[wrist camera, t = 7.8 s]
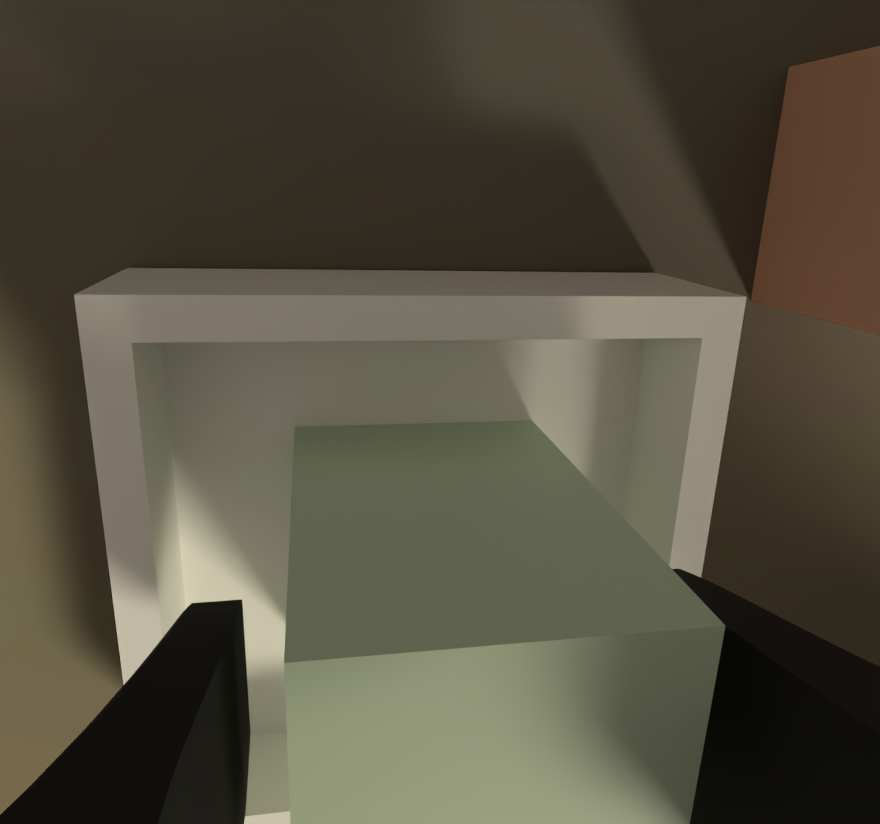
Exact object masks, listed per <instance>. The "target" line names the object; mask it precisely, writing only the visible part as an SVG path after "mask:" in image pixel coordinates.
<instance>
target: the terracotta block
mask: <svg viewBox="0 0 880 824" xmlns="http://www.w3.org/2000/svg"><path fill="white" fill-rule="evenodd" d="M751 301H755V302H759V303H762V304H766V305H770V306H773V307H777V308H781V309H785V310H788V311H792V312H796V313H799V314H803V315H807V316H810V317H814V318H818V319H821V320H825V321H829V322H832V323H836V324H840V325H843V326H847V327H851V328H854V329H858V330H862V331H865V332H869V333H873V334H876V335H880V46H876V47H872V48H868V49H863V50H859V51H855V52H851V53H846V54H842V55H838V56H834V57H829V58H825V59H821V60H816V61H812V62H808V63H804V64H799V65H795V66H791V67H789V70H788V76H787V82H786V88H785V94H784V100H783V106H782V112H781V118H780V125H779V131H778V137H777V143H776V149H775V155H774V161H773V167H772V173H771V180H770V186H769V192H768V198H767V204H766V210H765V216H764V222H763V228H762V235H761V241H760V247H759V253H758V259H757V265H756V271H755V277H754V283H753V290H752V296H751Z"/></svg>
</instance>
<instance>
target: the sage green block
mask: <svg viewBox="0 0 880 824" xmlns="http://www.w3.org/2000/svg"><path fill="white" fill-rule="evenodd" d="M724 631H725V625H724V624H723V623H722V622H721V620H720V619H719V618H718V617H717V616H716V615H715V614H714V613H713V612H712V611H711V610H710V609H709V608H708V607H707V606H706V605H705V604H704V602H703V601H702V600H701V599H700V598H699V597H698V596H697V595H696V594H695V593H694V592H693V591H692V590H691V589H690V588H689V587H688V585H687V584H686V583H685V582H684V581H683V580H682V579H681V578H680V577H679V576H678V575H677V574H676V573H675V572H674V571H673V570H672V568H671V567H670V566H669V565H668V564H667V563H666V562H665V561H664V560H663V559H662V558H661V557H660V556H659V555H658V554H657V553H656V551H655V550H654V549H653V548H652V547H651V546H650V545H649V544H648V543H647V542H646V541H645V540H644V539H643V538H642V537H641V536H640V534H639V533H638V532H637V531H636V530H635V529H634V528H633V527H632V526H631V525H630V524H629V523H628V522H627V521H626V520H625V519H624V517H623V516H622V515H621V514H620V513H619V512H618V511H617V510H616V509H615V508H614V507H613V506H612V505H611V504H610V503H609V502H608V501H607V499H606V498H605V497H604V496H603V495H602V494H601V493H600V492H599V491H598V490H597V489H596V488H595V487H594V486H593V485H592V484H591V482H590V481H589V480H588V479H587V478H586V477H585V476H584V475H583V474H582V473H581V472H580V471H579V470H578V469H577V468H576V467H575V465H574V464H573V463H572V462H571V461H570V460H569V459H568V458H567V457H566V456H565V455H564V454H563V453H562V452H561V451H560V450H559V448H558V447H557V446H556V445H555V444H554V443H553V442H552V441H551V440H550V439H549V438H548V437H547V436H546V435H545V434H544V433H543V431H542V430H541V429H540V428H539V427H538V426H537V425H536V424H535V423H534V422H533V421H494V422H455V423H417V424H379V425H341V426H302V427H294V449H293V472H292V494H291V517H290V539H289V562H288V584H287V607H286V629H285V652H284V675H285V700H286V725H287V750H288V775H289V800H290V824H690V819H691V813H692V808H693V802H694V797H695V791H696V786H697V780H698V775H699V769H700V764H701V758H702V753H703V747H704V742H705V736H706V731H707V725H708V720H709V714H710V709H711V703H712V698H713V692H714V687H715V681H716V676H717V670H718V665H719V659H720V653H721V648H722V642H723V637H724Z"/></svg>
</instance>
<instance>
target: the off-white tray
mask: <svg viewBox="0 0 880 824" xmlns="http://www.w3.org/2000/svg"><path fill="white" fill-rule="evenodd" d="M746 298H747V297H746V296H742V295H738V294H735V293H731V292H727V291H723V290H719V289H716V288H712V287H708V286H704V285H701V284H697V283H693V282H689V281H685V280H682V279H678V278H674V277H670V276H667V275H663V274H659V273H619V272H514V271H409V270H304V269H198V268H127V269H125V270H123V271H120V272H118V273H116V274H114V275H112V276H110V277H108V278H106V279H104V280H102V281H100V282H98V283H96V284H94V285H92V286H90V287H88V288H86V289H84V290H82V291H80V292H78V293H76V294H74V299H75V307H76V315H77V323H78V331H79V339H80V347H81V354H82V362H83V370H84V378H85V386H86V394H87V402H88V409H89V417H90V425H91V433H92V441H93V449H94V457H95V464H96V472H97V480H98V488H99V496H100V504H101V512H102V519H103V527H104V535H105V543H106V551H107V559H108V567H109V574H110V582H111V590H112V598H113V606H114V614H115V622H116V629H117V637H118V645H119V653H120V661H121V669H122V677H123V684H125V683H126V682H127V681H128V680H129V678H130V677H131V676H132V675H133V674H134V673H135V671H136V670H137V669H138V668H139V667H140V665H141V664H142V663H143V662H144V660H145V659H146V658H147V657H148V656H149V654H150V653H151V652H152V651H153V649H154V648H155V647H156V646H157V644H158V643H159V642H160V641H161V639H162V638H163V637H164V635H165V634H166V633H167V632H168V630H169V629H170V628H171V627H172V625H173V624H174V623H175V621H176V620H177V619H178V618H179V616H180V615H181V614H182V612H183V611H184V610H185V609H186V608H187V607H188V606H189V605H190V604H191V603H201V602H215V601H229V600H242V605H243V621H244V637H245V653H246V669H247V684H248V700H249V716H250V732H251V734H250V751H249V768H248V784H247V799H246V813H245V820H244V824H290V800H289V775H288V750H287V725H286V700H285V675H284V652H285V629H286V607H287V584H288V562H289V539H290V517H291V494H292V472H293V449H294V427H302V426H341V425H379V424H417V423H455V422H494V421H533V422H534V423H535V424H536V425H537V426H538V427H539V428H540V429H541V430H542V431H543V433H544V434H545V435H546V436H547V437H548V438H549V439H550V440H551V441H552V442H553V443H554V444H555V445H556V446H557V447H558V448H559V450H560V451H561V452H562V453H563V454H564V455H565V456H566V457H567V458H568V459H569V460H570V461H571V462H572V463H573V464H574V465H575V467H576V468H577V469H578V470H579V471H580V472H581V473H582V474H583V475H584V476H585V477H586V478H587V479H588V480H589V481H590V482H591V484H592V485H593V486H594V487H595V488H596V489H597V490H598V491H599V492H600V493H601V494H602V495H603V496H604V497H605V498H606V499H607V501H608V502H609V503H610V504H611V505H612V506H613V507H614V508H615V509H616V510H617V511H618V512H619V513H620V514H621V515H622V516H623V517H624V519H625V520H626V521H627V522H628V523H629V524H630V525H631V526H632V527H633V528H634V529H635V530H636V531H637V532H638V533H639V534H640V536H641V537H642V538H643V539H644V540H645V541H646V542H647V543H648V544H649V545H650V546H651V547H652V548H653V549H654V550H655V551H656V553H657V554H658V555H659V556H660V557H661V558H662V559H663V560H664V561H665V562H666V563H667V564H668V565H669V566H670V567H671V568H672V569H681V570H684V571H686V572H689V573H691V574H694V575H696V576H698V577H701V576H702V570H703V564H704V557H705V551H706V545H707V539H708V533H709V526H710V520H711V514H712V508H713V502H714V496H715V489H716V483H717V477H718V471H719V465H720V459H721V452H722V446H723V440H724V434H725V428H726V421H727V415H728V409H729V403H730V397H731V391H732V384H733V378H734V372H735V366H736V360H737V354H738V347H739V341H740V335H741V329H742V323H743V316H744V310H745V304H746Z"/></svg>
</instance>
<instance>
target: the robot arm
mask: <svg viewBox="0 0 880 824" xmlns="http://www.w3.org/2000/svg"><path fill="white" fill-rule="evenodd" d="M672 570H673V571H674V572H675V573H676V574H677V575H678V576H679V577H680V578H681V579H682V580H683V581H684V582H685V583H686V584H687V585H688V587H689V588H690V589H691V590H692V591H693V592H694V593H695V594H696V595H697V596H698V597H699V598H700V599H701V600H702V601H703V602H704V604H705V605H706V606H707V607H708V608H709V609H710V610H711V611H712V612H713V613H714V614H715V615H716V616H717V617H718V618H719V619H720V620H721V622H722V623H723V624H724V625H725V631H724V637H723V642H722V648H721V653H720V659H719V665H718V670H717V676H716V681H715V687H714V692H713V698H712V703H711V709H710V714H709V720H708V725H707V731H706V736H705V742H704V747H703V753H702V758H701V764H700V769H699V775H698V780H697V786H696V791H695V797H694V802H693V808H692V813H691V819H690V824H880V667H879V666H877V665H875V664H872V663H870V662H868V661H866V660H864V659H862V658H860V657H858V656H856V655H854V654H852V653H850V652H848V651H846V650H844V649H841V648H839V647H837V646H835V645H833V644H831V643H829V642H827V641H825V640H823V639H821V638H819V637H817V636H816V635H814V634H812V633H810V632H808V631H806V630H804V629H802V628H800V627H798V626H796V625H794V624H792V623H790V622H788V621H786V620H784V619H782V618H780V617H778V616H776V615H775V614H773V613H771V612H769V611H767V610H765V609H763V608H761V607H759V606H757V605H755V604H753V603H751V602H749V601H747V600H745V599H744V598H742V597H740V596H738V595H736V594H734V593H732V592H730V591H728V590H726V589H724V588H722V587H720V586H718V585H716V584H713V583H711V582H709V581H707V580H705V579H703V578H701V577H698V576H696V575H694V574H691V573H689V572H686V571H684V570H681V569H672ZM250 734H251V732H250V716H249V700H248V684H247V669H246V653H245V637H244V621H243V605H242V600H229V601H215V602H201V603H191V604H190V605H189V606H188V607H187V608H186V609H185V610H184V611H183V612H182V614H181V615H180V616H179V618H178V619H177V620H176V621H175V623H174V624H173V625H172V627H171V628H170V629H169V630H168V632H167V633H166V634H165V635H164V637H163V638H162V639H161V641H160V642H159V643H158V644H157V646H156V647H155V648H154V649H153V651H152V652H151V653H150V654H149V656H148V657H147V658H146V659H145V660H144V662H143V663H142V664H141V665H140V667H139V668H138V669H137V670H136V671H135V673H134V674H133V675H132V676H131V677H130V678H129V680H128V681H127V682H126V683H125V684H124V685H123V687H122V688H121V689H120V690H119V691H118V692H117V693H116V695H115V696H114V697H113V698H112V699H111V700H110V702H109V703H108V704H107V705H106V706H105V707H104V708H103V710H102V711H101V712H100V713H99V714H98V715H97V716H96V718H95V719H94V720H93V721H92V722H91V723H90V724H89V725H88V726H87V727H86V729H85V730H84V731H83V732H82V733H81V734H80V735H79V736H78V737H77V738H76V739H75V740H74V741H73V742H72V743H71V744H70V745H69V746H68V747H67V748H66V749H65V750H64V752H63V753H62V754H61V755H60V756H59V757H58V758H57V759H56V760H55V761H54V762H53V763H52V764H51V765H50V766H49V767H48V768H47V769H46V770H45V771H44V772H43V773H42V774H41V775H40V777H39V778H38V779H37V780H36V781H35V782H34V783H33V784H32V785H31V786H30V787H29V788H28V789H27V790H26V791H25V792H24V793H23V794H21V795H20V796H19V797H18V798H17V799H16V800H15V801H14V802H13V803H12V804H11V805H10V806H9V807H8V808H7V809H6V810H5V811H4V812H3V813H2V814H1V815H0V824H244V820H245V813H246V799H247V784H248V768H249V751H250Z"/></svg>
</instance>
